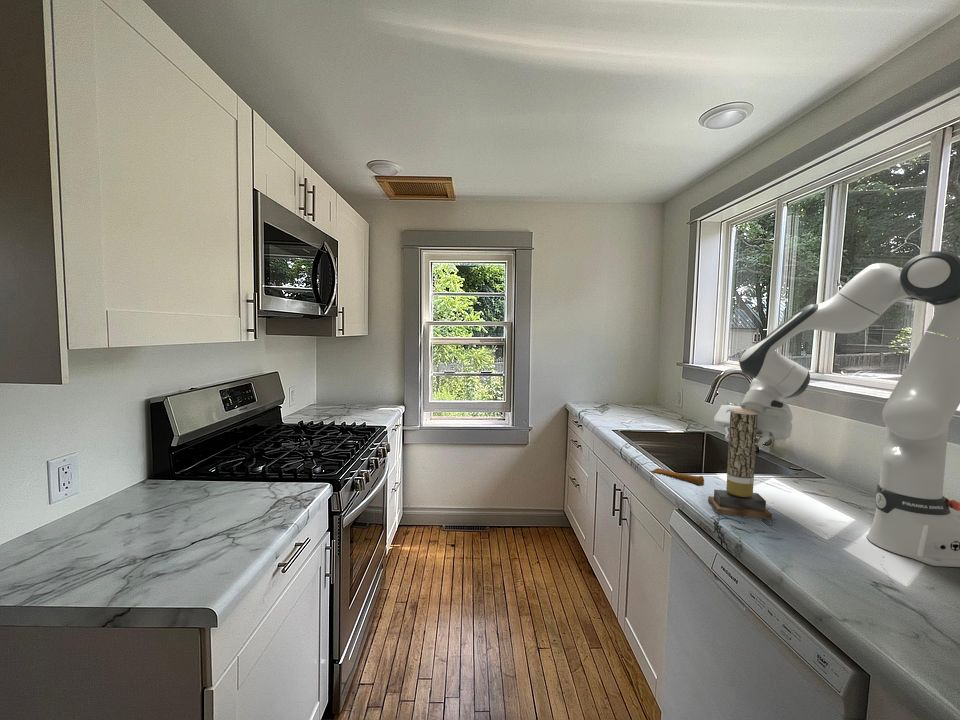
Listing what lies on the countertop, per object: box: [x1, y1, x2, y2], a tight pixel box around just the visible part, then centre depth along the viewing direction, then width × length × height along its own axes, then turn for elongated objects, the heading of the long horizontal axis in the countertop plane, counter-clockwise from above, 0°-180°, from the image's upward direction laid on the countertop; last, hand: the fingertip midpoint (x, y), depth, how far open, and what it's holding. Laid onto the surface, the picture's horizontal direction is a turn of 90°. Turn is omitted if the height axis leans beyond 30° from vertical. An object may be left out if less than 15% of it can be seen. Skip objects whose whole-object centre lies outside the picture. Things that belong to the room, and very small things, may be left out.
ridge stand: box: [707, 489, 773, 520], centre depth 128 cm, size 14×10×4 cm
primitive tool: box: [649, 468, 705, 486], centre depth 157 cm, size 19×6×4 cm, turn 37°
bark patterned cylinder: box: [726, 409, 757, 497], centre depth 127 cm, size 7×7×25 cm
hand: (742, 442), depth 127 cm, fingers closed on bark patterned cylinder, 7 cm apart
